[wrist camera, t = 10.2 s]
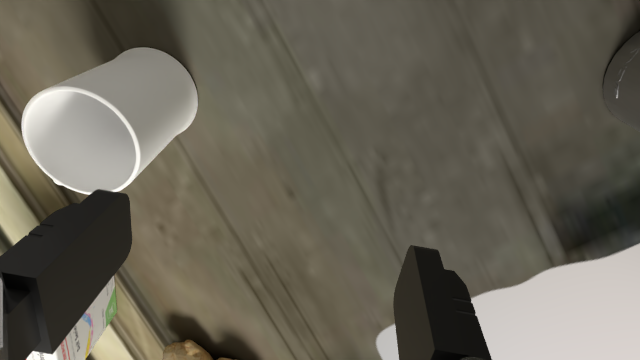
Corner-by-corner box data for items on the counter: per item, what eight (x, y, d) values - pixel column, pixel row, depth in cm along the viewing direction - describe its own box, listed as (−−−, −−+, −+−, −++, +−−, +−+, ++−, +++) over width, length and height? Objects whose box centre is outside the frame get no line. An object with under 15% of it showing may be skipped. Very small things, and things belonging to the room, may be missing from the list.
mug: (136, 169, 43) (67, 239, 32) (68, 105, 40) (-33, 158, 29) (217, 102, 39) (169, 156, 28) (148, 26, 36) (66, 54, 25)
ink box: (119, 312, 53) (45, 428, 40) (80, 305, 52) (-8, 420, 39) (114, 259, 48) (30, 369, 35) (72, 252, 48) (-29, 360, 35)
